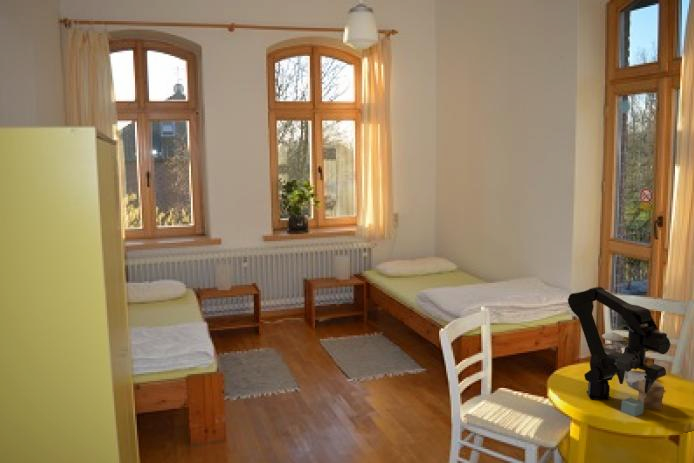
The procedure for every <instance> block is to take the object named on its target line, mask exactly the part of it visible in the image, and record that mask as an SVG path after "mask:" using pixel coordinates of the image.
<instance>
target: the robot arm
mask: <svg viewBox="0 0 694 463" xmlns="http://www.w3.org/2000/svg"><path fill="white" fill-rule="evenodd" d="M595 301H597V302H598V303H600V304H602V305H603V306H605V307H607V308H609V309H610V310H611V311H612V310H614V311H615V312H617V313H616V314H618V315H620V316H621V318H622V320H623V321H624V322H625V323H627V324H625V325H624V326H623V327H622V329H623V330H626V331H628V333H627V336H628V337H627V345H626V346H625V347H624V351H623V352H622V353H619V352H613V353H610V354H608V355H607V354H606V353H605V351H604V348H603V345H604V344H603V342H602V339H601V337H600V333H599V330H598V326H597V324H596V321H595V318H594V316H593V311H594V306H595V305H594V302H595ZM567 303H568V305H569V307H570V310H571V312H572V313H573V314H575V316H576V317H577V318H578V319H579V320H578V321H579V323H580V326H581V329H582V332H583V336H584V337H585V338H584V339H585V341H586V343H587V347H588V350H589V353H590V360H589V368H590V369H589V371H587V372H585V373H584V374H583V375H584V380H585V381H587V382H588V384H587V390H586V394H587V395H588V398H589V399H590V400H601V401H602V400H604V401H610V398H609V397H610V390H611V388H610V387H611V386H610V384H609V381H612V380H613V378H614V377H615V376H617V379H618V381H619V382H618V383H619V384H620V385H623V384H624V381H625V378H624V375H625V372H629V371H632V370H634V371H637V369H638V370H641V371H645V374H646V375H645V376H644V377H645V379H646V381H645V393H648V391H649V390H650V388H651V386H652V385H653V383H654V382H655V380H656V381H657V380H658V379H659V378H663V377H666V375H667V370H666V368H665V367H664V366H662V365H659V364H655V363H653V364H651V365H647V364H646V363H648V359H647V358H646V352H648V351H650V352H651V351H652V352H655V353H658V354H660V355H665V354H667V353H668V352H669V350H670V348H671V342H670V339H669V337H668V335H667V333H666V332H661V331H659V328H658V326H657V324H656V322H655V320H654V318H653V316H652V313H651V311H650V309H648V308H646V307H643V306H640V305H636V304H631V303H629V302H626V301H625V300H623V299H621V298H619V297H618V296H616V295H614V294H612V293H611V292H609V291H608V290H606V289H605V288H603V287H601V286H595V287H591V288H589V289H586V290H583V291H579V292H573V293H572V292H571V293H570V294H569V296H568V298H567ZM642 326H643V327H642ZM616 373H617V374H616Z"/></svg>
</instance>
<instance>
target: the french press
mask: <svg viewBox="0 0 694 463" xmlns="http://www.w3.org/2000/svg"><path fill="white" fill-rule="evenodd" d="M611 313H612V314H613V317H615V314H618V313H617V312H615V311H614V310H612V309H611ZM612 321H613V322H612V323H613V326H612V332H611V331H610V332H605V333H603V334H602V335H601V337H602V339H604V340H605V341H610V342H611V343H603V344H602V345H603V348H604V351H605V353H606V354H607V355H608V354H610V353H613V352H619V353H622V354H623V350H622V348H623V347H622V346H621V344H620V343H618V344H616V343H614V342H621V341H624V336H622V335H621V334H620V333H617V332H615V331H614V326H615V320H612ZM615 375H617V373H616V374H615Z"/></svg>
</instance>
